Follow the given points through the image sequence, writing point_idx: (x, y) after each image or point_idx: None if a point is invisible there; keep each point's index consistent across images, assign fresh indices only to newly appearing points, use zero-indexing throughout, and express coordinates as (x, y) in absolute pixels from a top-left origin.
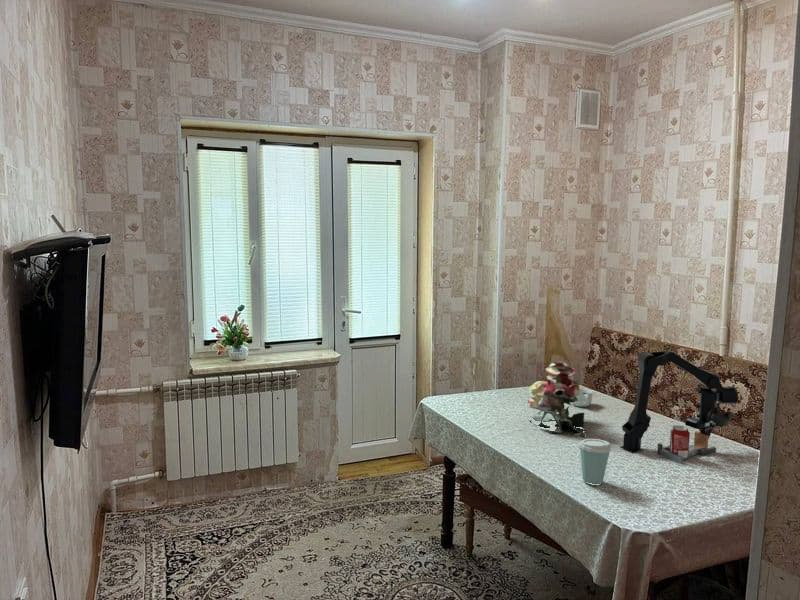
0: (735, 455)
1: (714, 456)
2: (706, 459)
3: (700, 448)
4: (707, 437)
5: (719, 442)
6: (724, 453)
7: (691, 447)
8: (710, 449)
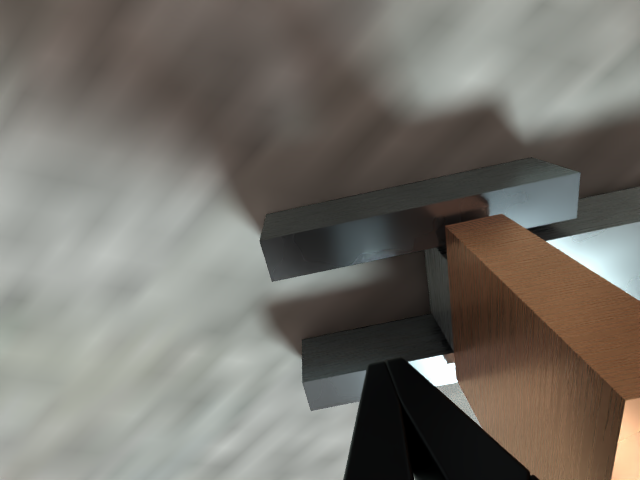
0: (47, 43)
1: (401, 91)
2: (614, 14)
3: (559, 238)
4: (612, 342)
5: (18, 439)
6: (173, 157)
7: (635, 296)
8: (393, 208)
